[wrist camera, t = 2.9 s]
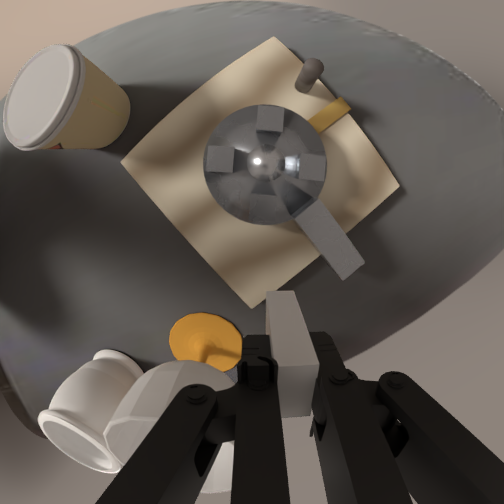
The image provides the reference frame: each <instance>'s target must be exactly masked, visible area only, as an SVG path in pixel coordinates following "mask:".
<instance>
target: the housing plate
mask: <svg viewBox="0 0 504 504" xmlns="http://www.w3.org/2000/svg"><path fill="white" fill-rule="evenodd" d="M323 70H324V65H323V64H322V62H321V61H320V60H318V59H315V58H310V59H307V60H306V61H305V63H304V64H303V63H302V62H301V61H300V60H299V59H298V58H297V57H296V56H295V55H294V54H293V53H292V52H291V51H290V50H289V49H288V48H286V47H285V46H284V45H283V44H282V43H281V42H280V41H279V40H278V39H276V38H275V37H272V38H270V39H269V40H267V41H265V42H264V43H262V44H261V45H259V46H257V47H256V48H254V49H253V50H251V51H249V52H248V53H246V54H245V55H243V56H242V57H240V58H239V59H237V60H236V61H235V62H233V63H232V64H230V65H229V66H227V67H226V68H225V69H223V70H222V71H220V72H219V73H218V74H216V75H215V76H214V77H212V78H211V79H210V80H209V81H207V82H206V83H205V84H203V85H202V86H201V87H200V88H198V89H197V90H196V91H195V92H193V93H192V94H191V95H190V96H189V97H187V98H186V99H185V100H184V101H183V102H181V103H180V104H179V105H178V106H177V107H176V108H175V109H173V110H172V111H171V112H170V113H169V114H168V115H167V116H166V117H165V118H164V119H162V120H161V121H160V122H159V123H158V124H157V125H156V126H155V127H154V128H153V129H152V130H151V131H150V132H149V133H148V134H147V135H146V136H145V137H144V138H143V139H142V140H141V141H140V142H139V143H138V144H137V145H136V146H135V147H134V148H133V149H132V150H131V151H130V152H129V153H128V154H127V156H126V157H125V158H124V159H123V160H122V161H121V164H122V165H123V166H124V167H125V169H126V170H127V171H128V172H129V173H130V175H131V176H132V177H133V178H134V179H135V181H136V182H137V183H138V184H139V185H140V187H141V188H142V189H143V190H144V191H145V192H146V194H147V195H148V196H149V197H150V198H151V199H152V201H153V202H154V203H155V204H156V205H157V206H158V208H159V209H160V210H161V211H162V212H163V213H164V215H165V216H166V217H167V218H168V219H169V220H170V221H171V223H172V224H173V225H174V226H175V227H176V228H177V229H178V230H179V232H180V233H181V234H182V235H183V236H184V237H185V238H186V239H187V241H188V242H189V243H190V244H191V245H192V246H193V247H194V248H195V249H196V251H197V252H198V253H199V254H200V255H201V256H202V257H203V258H204V259H205V260H206V261H207V263H208V264H209V265H210V266H211V267H212V268H213V269H214V270H215V271H216V272H217V273H218V274H219V276H220V277H221V278H222V279H223V280H224V281H225V282H226V283H227V284H228V285H229V286H230V287H231V288H232V289H233V290H234V291H235V293H236V294H237V295H238V296H239V297H240V298H241V299H242V300H243V301H244V302H245V303H246V304H247V305H248V306H249V307H250V308H251V309H253V308H254V307H255V306H256V305H258V304H259V303H260V302H262V301H263V300H264V299H266V291H276V290H277V289H278V288H280V287H281V286H282V285H284V284H285V283H286V282H287V281H289V280H290V279H291V278H292V277H294V276H295V275H296V274H297V273H299V272H300V271H301V270H302V269H304V268H305V267H306V266H307V265H309V264H310V263H311V262H312V261H314V260H315V259H316V258H317V257H318V256H320V254H319V253H318V251H317V250H316V249H315V247H314V246H313V245H312V244H311V242H310V241H309V240H308V239H307V237H306V236H305V235H304V234H303V232H302V231H301V230H300V229H299V227H298V226H297V225H296V224H295V222H294V221H293V220H290V221H287V222H284V223H280V224H275V225H257V224H251V223H248V222H244V221H242V220H240V219H237V218H235V217H234V216H232V215H230V214H229V213H228V212H226V211H225V210H224V209H223V208H222V207H221V206H220V205H219V204H218V203H217V202H216V200H215V199H214V198H213V196H212V195H211V193H210V191H209V189H208V186H207V184H206V181H205V177H204V171H203V157H204V151H205V147H206V144H207V142H208V139H209V137H210V135H211V134H212V132H213V131H214V129H215V128H216V127H217V126H218V124H219V123H220V122H221V121H222V120H224V119H225V118H226V117H227V116H229V115H230V114H232V113H233V112H235V111H237V110H239V109H242V108H245V107H248V106H252V105H260V104H268V105H276V106H281V107H284V108H287V109H289V110H292V111H294V112H295V113H297V114H299V115H300V116H302V117H303V118H304V119H306V120H307V121H308V122H309V123H310V124H311V125H312V126H313V128H314V129H315V130H316V132H317V133H318V135H319V137H320V138H321V140H322V143H323V145H324V148H325V152H326V157H327V173H326V179H325V183H324V186H323V188H322V190H321V193H320V194H319V196H318V198H319V199H320V200H321V202H322V203H323V204H324V206H325V207H326V208H327V210H328V211H329V212H330V214H331V215H332V216H333V218H334V219H335V220H336V222H337V223H338V224H339V226H340V227H341V229H342V230H343V231H344V233H345V234H346V233H347V232H348V231H349V230H351V229H352V228H353V227H354V226H355V225H356V224H358V223H359V222H360V221H361V220H362V219H363V218H365V217H366V216H367V215H368V214H369V213H370V212H371V211H373V210H374V209H375V208H376V207H377V206H378V205H379V204H380V203H382V202H383V201H384V200H385V199H386V198H387V197H388V196H389V195H391V194H392V193H393V192H394V191H395V190H396V189H397V188H398V187H399V184H398V183H397V181H396V179H395V178H394V176H393V175H392V173H391V171H390V170H389V168H388V167H387V165H386V164H385V162H384V161H383V159H382V158H381V156H380V155H379V153H378V152H377V151H376V149H375V148H374V146H373V145H372V144H371V142H370V141H369V139H368V138H367V137H366V135H365V134H364V133H363V131H362V130H361V129H360V127H359V126H358V125H357V124H356V122H355V121H354V120H353V118H352V117H351V116H350V115H349V114H348V111H349V110H351V108H350V107H349V106H348V104H347V103H346V102H345V101H344V100H343V98H342V97H339V98H338V99H336V98H335V97H334V96H333V95H332V93H331V92H330V91H329V90H328V89H327V88H326V87H325V86H324V85H323V83H322V82H321V81H320V80H319V79H318V78H319V76H320V75H321V74H322V72H323Z"/></svg>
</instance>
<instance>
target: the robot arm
mask: <svg viewBox="0 0 504 504" xmlns="http://www.w3.org/2000/svg"><path fill="white" fill-rule="evenodd" d="M237 373H238V382H237V383H236V384H235V385H234V386H232V387H230V388H228V389H225V390H220V391H215V390H214V389H212V388H211V387H210V386H207V385H204V384H191V385H188V386H185V387H183V388H182V389H181V390H180V391H179V392H178V393H177V394H176V396H175V397H174V398H173V400H172V401H171V403H170V404H169V405H168V407H167V408H166V410H165V411H164V412H163V414H162V415H161V416H160V418H159V419H158V421H157V422H156V423H155V425H154V426H153V427H152V429H151V430H150V432H149V433H148V434H147V436H146V437H145V438H144V440H143V441H142V442H141V444H140V445H139V446H138V448H137V449H136V450H135V452H134V453H133V454H132V456H131V457H130V458H129V460H128V461H127V462H126V464H125V465H124V466H123V468H122V469H121V470H120V472H119V473H118V475H117V476H116V477H115V478H114V480H113V481H112V482H111V484H110V485H109V486H108V487H107V489H106V490H105V491H104V493H103V494H102V496H101V497H100V498H99V500H97V502H96V503H95V504H194V503H195V501H196V499H197V497H198V495H199V493H200V491H201V489H202V487H203V485H204V483H205V481H206V479H207V477H208V474H209V472H210V470H211V468H212V466H213V464H214V462H215V459H216V457H217V455H218V453H219V451H220V448H221V446H222V443H225V442H230V441H234V454H233V470H232V487H231V504H290V496H289V487H288V476H287V467H286V457H285V447H284V438H283V429H282V420H281V418H288V417H302V416H310V414H311V409H312V410H313V415H314V417H313V421H312V426H311V430H310V437H312V436H313V432H314V437H315V441H316V446H317V451H318V456H319V461H320V466H321V470H322V476H323V481H324V486H325V491H326V496H327V501H328V504H413V503H412V500H411V497H410V495H409V493H410V494H411V496H412V497H413V498H414V499H415V501H416V502H417V503H418V504H504V463H503V462H502V461H501V460H500V459H499V458H498V457H497V456H496V455H495V454H493V452H491V451H490V450H489V449H488V448H487V447H486V446H485V445H484V444H482V442H481V441H480V440H478V439H477V438H476V437H475V436H474V435H473V434H472V433H471V432H470V431H469V430H467V429H466V428H465V427H464V426H463V425H462V424H461V423H460V422H459V421H458V420H456V419H455V418H454V417H453V416H452V415H451V414H450V413H449V412H448V411H447V410H445V409H444V408H443V407H442V406H441V405H440V404H439V403H438V402H437V401H435V400H434V399H433V398H432V397H431V396H430V395H429V394H428V393H426V392H425V391H424V390H423V389H422V388H421V387H420V386H419V385H418V384H417V383H415V382H414V381H413V380H412V379H411V378H410V377H409V376H407V375H406V374H404V373H401V372H395V371H391V372H386V373H385V374H383V375H381V377H380V379H379V381H365V380H360V379H358V377H357V376H356V374H355V373H354V372H352V371H351V370H349V369H346V368H345V366H344V363H343V361H342V359H341V357H340V355H339V353H338V350H337V348H336V346H335V345H334V342H333V340H332V338H331V337H330V336H329V335H328V334H327V333H325V332H308V329H307V327H306V324H305V321H304V318H303V315H302V312H301V310H300V307H299V304H298V301H297V299H296V296H295V293H294V291H266V335H247V336H246V337H245V338H244V339H243V341H242V352H241V360H240V361H239V362H238V365H237ZM397 419H398V420H399V421H400V422H401V423H400V422H399V421H398V420H397Z"/></svg>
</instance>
